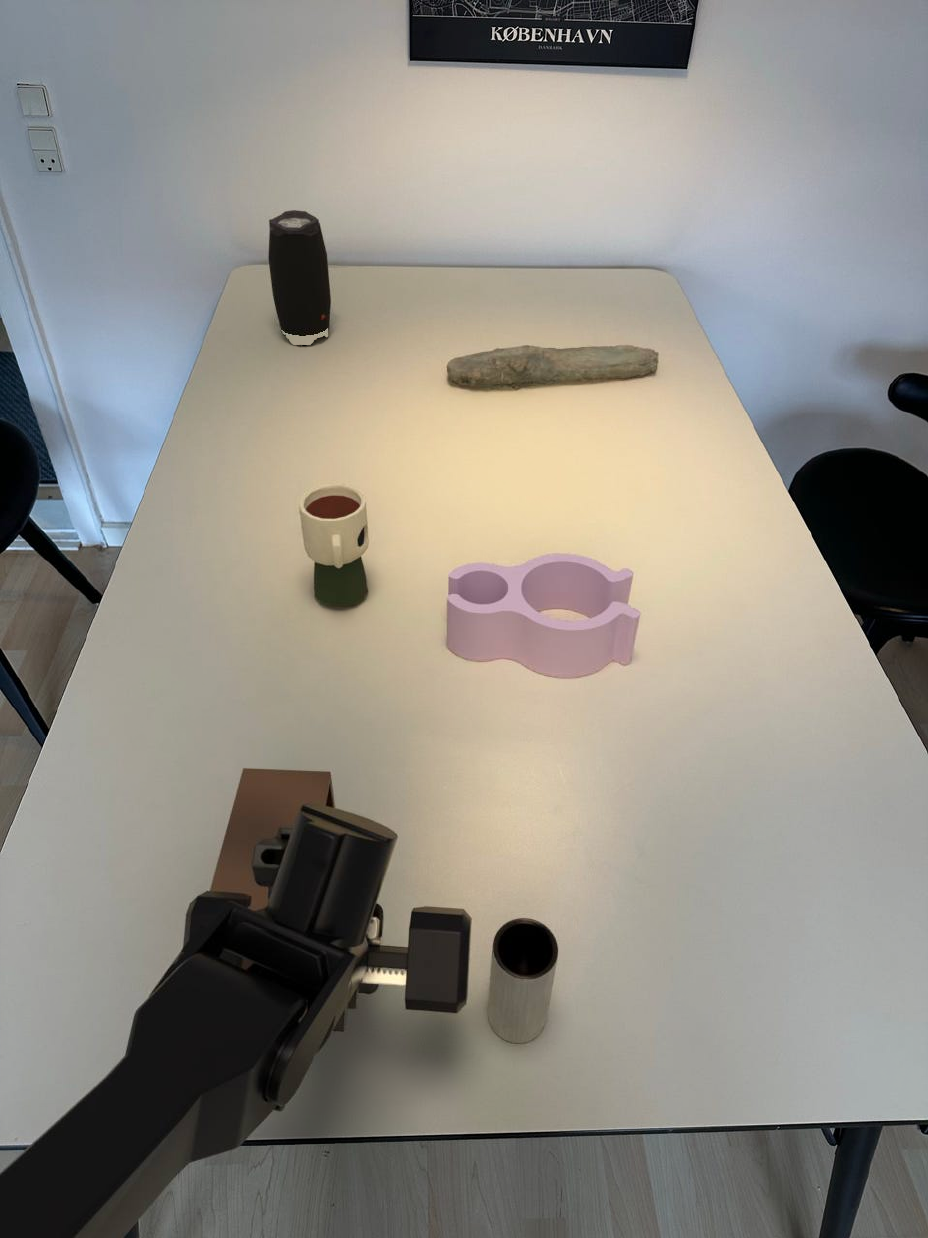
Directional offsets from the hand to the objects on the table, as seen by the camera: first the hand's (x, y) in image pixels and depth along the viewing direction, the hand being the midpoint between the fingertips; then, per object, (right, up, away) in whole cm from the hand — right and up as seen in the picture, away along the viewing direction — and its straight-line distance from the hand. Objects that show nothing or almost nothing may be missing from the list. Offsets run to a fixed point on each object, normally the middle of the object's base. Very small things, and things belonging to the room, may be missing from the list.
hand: (350, 921), depth 68 cm
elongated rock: (+23, +62, +78) cm, 102 cm away
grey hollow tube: (+13, -8, +1) cm, 15 cm away
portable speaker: (-19, +71, +87) cm, 113 cm away
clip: (+17, +21, +32) cm, 42 cm away
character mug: (-6, +26, +37) cm, 45 cm away
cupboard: (-6, -2, +7) cm, 10 cm away
